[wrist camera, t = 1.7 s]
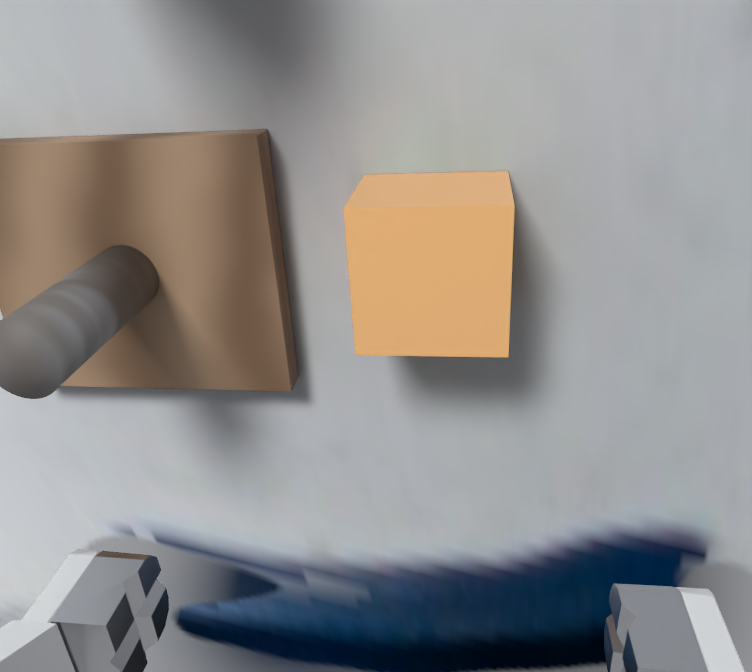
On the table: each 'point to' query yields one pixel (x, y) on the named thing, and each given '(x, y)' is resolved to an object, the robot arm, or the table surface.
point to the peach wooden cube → (431, 263)
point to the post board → (182, 236)
